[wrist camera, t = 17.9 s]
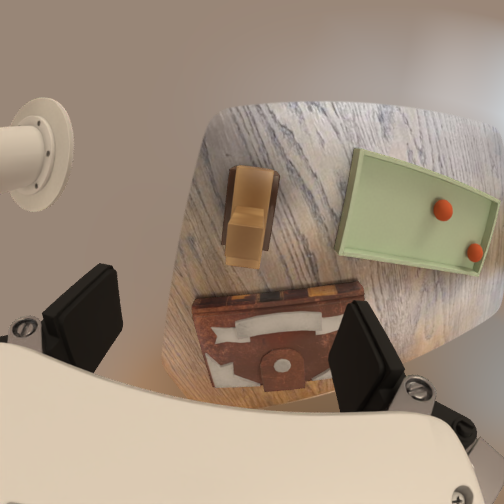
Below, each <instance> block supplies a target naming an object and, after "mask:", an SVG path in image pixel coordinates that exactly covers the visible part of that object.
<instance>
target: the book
mask: <svg viewBox="0 0 504 504" xmlns="http://www.w3.org/2000/svg"><path fill="white" fill-rule="evenodd" d="M353 300H359V301H364V300H365V298H364V289H363V286H362V285H361V284H360V283H359V281H357V282H350V283H342V284H335V285H327V286H320V287H312V288H304V289H295V290H286V291H277V292H268V293H258V294H248V295H238V296H227V297H215V298H202V299H195V301H194V303H193V304H192V314H193V321H194V324H195V328H196V332H197V336H198V339H199V343H200V346H201V350H202V353H203V357H204V360H205V364H206V367H207V370H208V373H209V377H210V380H211V383H212V386H213V387H215V388H225V387H252V386H260V385H263V386H264V392H269V391H281V390H291V389H300V388H305V381H311V380H312V381H315V380H322V379H328V378H332V375H331V371H330V367H329V363H328V356H329V352H330V350H331V347H332V345H333V342H334V339H335V337H336V334H337V331H338V329H339V326H340V323H341V320H342V318H343V315H344V312H345V309H346V306H347V304H348V303H351V302H352V301H353Z"/></svg>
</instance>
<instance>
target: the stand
mask: <svg viewBox="0 0 504 504" xmlns="http://www.w3.org/2000/svg"><path fill="white" fill-rule="evenodd" d="M236 168H237V166H234V167H232V168H231V169H229V178H228V186H227V195H226V204H225V213H224V222H223V232H222V242H221V244H222V245H226V237H227V228H228V223H229V221H230V218H231V210H232V201H233V193H234V184H235V176H236ZM279 180H280V175H279V174H278V172H277V171H274V175H273V182H272V189H271V196H270V202H269V209H268V215H267V222H266V228H265V235H264V241H263V248H262V250H264V251H268V249H269V243H270V237H271V231H272V225H273V219H274V212H275V206H276V199H277V193H278V187H279Z"/></svg>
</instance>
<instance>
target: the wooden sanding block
mask: <svg viewBox="0 0 504 504" xmlns="http://www.w3.org/2000/svg"><path fill="white" fill-rule="evenodd" d="M273 175H274V171H273V170H272V169H266V168H259V167H252V166H244V165H239V166H237V168H236V176H235V184H234V193H233V201H232V210H231V218H230V221H229V223H228V228H227V237H226V247H225V256H226V265H231V266H238V267H246V268H253V269H259V267H260V261H261V254H262V248H263V241H264V235H265V228H266V222H267V215H268V209H269V202H270V196H271V189H272V182H273Z"/></svg>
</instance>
